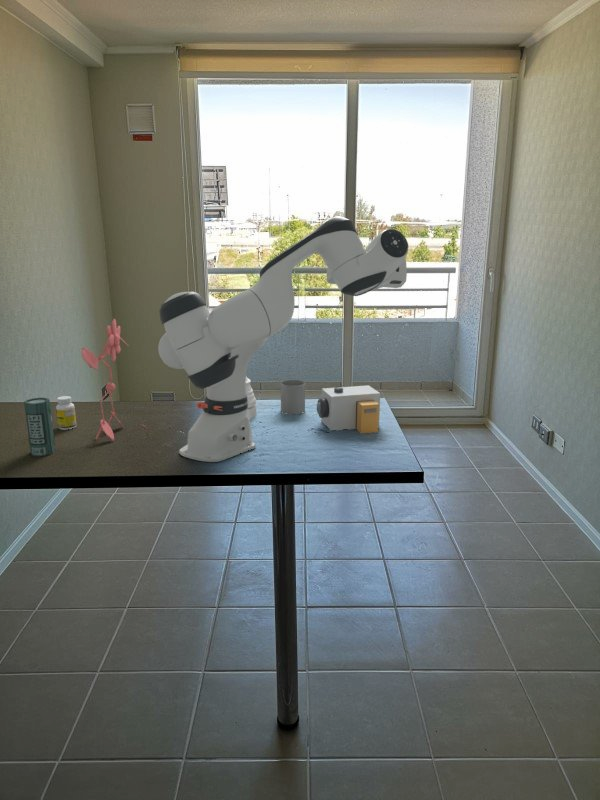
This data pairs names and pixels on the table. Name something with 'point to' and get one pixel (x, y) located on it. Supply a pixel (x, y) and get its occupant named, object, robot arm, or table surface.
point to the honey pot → (250, 400)
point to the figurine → (92, 361)
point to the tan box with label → (367, 416)
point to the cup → (292, 396)
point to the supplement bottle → (65, 413)
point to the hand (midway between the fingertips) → (357, 285)
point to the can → (39, 426)
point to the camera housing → (344, 405)
